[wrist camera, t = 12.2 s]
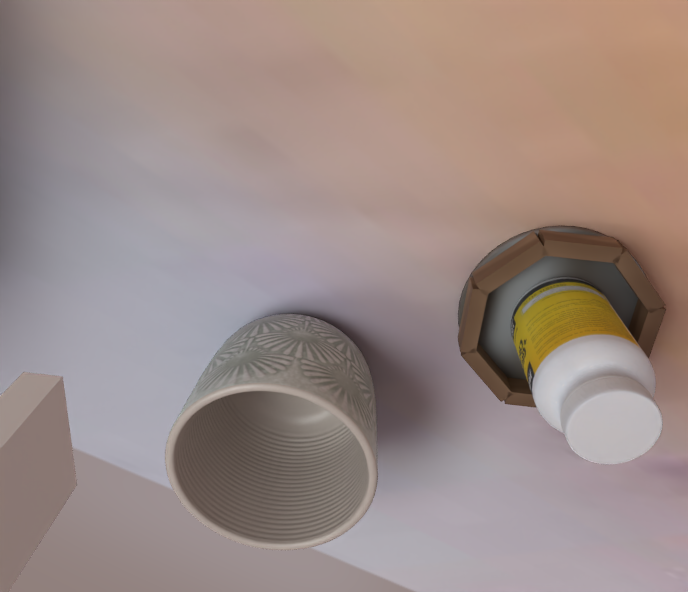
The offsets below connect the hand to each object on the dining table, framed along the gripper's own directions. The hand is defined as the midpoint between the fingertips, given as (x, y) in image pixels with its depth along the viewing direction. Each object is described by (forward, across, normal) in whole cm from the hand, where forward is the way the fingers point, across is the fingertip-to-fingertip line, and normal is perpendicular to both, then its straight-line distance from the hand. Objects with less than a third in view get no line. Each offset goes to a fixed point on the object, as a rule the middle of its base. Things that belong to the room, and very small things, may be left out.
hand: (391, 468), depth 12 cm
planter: (+29, -5, -17) cm, 34 cm away
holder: (+29, +12, -10) cm, 33 cm away
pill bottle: (+28, +12, -10) cm, 32 cm away
